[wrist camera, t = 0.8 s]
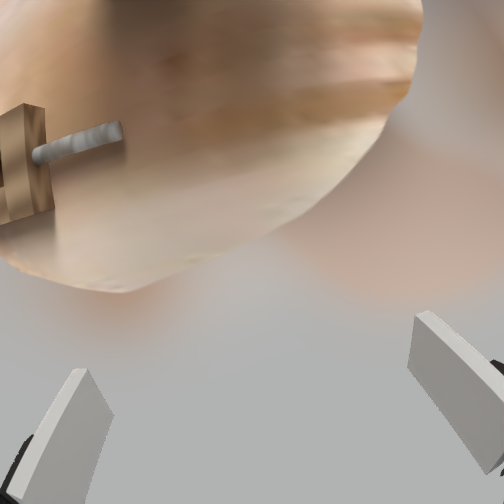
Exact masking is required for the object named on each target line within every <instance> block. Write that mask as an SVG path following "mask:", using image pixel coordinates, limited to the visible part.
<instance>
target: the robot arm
mask: <svg viewBox="0 0 504 504" xmlns="http://www.w3.org/2000/svg"><path fill="white" fill-rule="evenodd" d="M407 368H408V369H409V370H410V372H411V373H412V374H413V376H414V377H415V378H416V379H417V381H418V382H419V383H420V385H421V386H422V387H423V388H424V390H425V391H426V392H427V394H428V395H429V396H430V398H431V399H432V400H433V401H434V403H435V404H436V406H437V407H438V408H439V410H440V411H441V412H442V414H443V415H444V416H445V418H446V419H447V420H448V422H449V423H450V425H451V426H452V427H453V428H454V430H455V431H456V433H457V434H458V435H459V437H460V438H461V440H462V441H463V443H464V444H465V445H466V447H467V448H468V450H469V451H470V453H471V454H472V455H473V457H474V458H475V460H476V461H477V463H478V464H479V465H480V467H481V469H482V470H483V472H484V473H485V474H486V475H487V474H488V473H490V472H491V471H493V470H494V469H495V468H497V467H498V466H499V465H501V464H502V463H503V461H504V364H503V363H501V362H498V361H496V360H492V361H490V362H489V361H487V360H486V359H485V358H484V357H483V356H482V355H481V354H480V353H479V352H478V351H476V350H475V349H474V348H473V347H472V346H471V345H470V344H469V343H468V342H466V341H465V340H464V339H463V338H462V337H461V336H460V335H458V334H457V333H456V332H455V331H454V330H453V329H451V328H450V327H449V326H448V325H447V324H446V323H444V322H443V321H442V320H441V319H440V318H439V317H437V316H436V315H435V314H434V313H433V312H431V311H430V310H428V311H425V312H422V313H419V314H416V315H415V319H414V327H413V334H412V342H411V348H410V354H409V360H408V366H407ZM113 417H114V414H113V413H112V411H111V410H110V408H109V406H108V404H107V403H106V401H105V399H104V398H103V396H102V394H101V393H100V391H99V389H98V387H97V385H96V383H95V381H94V380H93V378H92V376H91V374H90V372H89V370H88V369H73V370H72V372H71V374H70V376H69V377H68V379H67V380H66V382H65V383H64V385H63V386H62V388H61V390H60V391H59V393H58V395H57V396H56V398H55V400H54V401H53V403H52V405H51V406H50V408H49V410H48V412H47V413H46V415H45V417H44V419H43V420H42V422H41V424H40V426H39V427H38V429H37V431H36V433H35V435H31V436H30V437H29V438H28V439H27V440H26V441H25V442H24V443H23V445H22V447H21V449H20V450H19V452H18V453H19V454H18V455H17V456H16V458H15V462H13V464H12V466H11V468H10V470H9V472H8V474H7V476H6V478H5V480H4V482H3V484H2V487H1V488H0V504H84V503H85V499H86V496H87V493H88V490H89V486H90V483H91V480H92V477H93V474H94V471H95V467H96V465H97V461H98V459H99V455H100V453H101V450H102V447H103V444H104V441H105V439H106V436H107V433H108V430H109V427H110V425H111V422H112V419H113ZM503 475H504V469H503V470H502V472H501V475H500V476H503Z"/></svg>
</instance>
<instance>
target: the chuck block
mask: <svg viewBox="0 0 504 504" xmlns="http://www.w3.org/2000/svg"><path fill="white" fill-rule="evenodd" d="M122 138H123V130H122V126H121V123H120V121H119V120H116V121H112V122H109V123H105V124H102V125H99V126H95V127H92V128H89V129H86V130H83V131H80V132H77V133H74V134H71V135H68V136H65V137H63V138H60V139H57V140H55V141H52V142H49V143H47V144H46V134H45V114H44V108H41V107H37V106H33V105H29V104H25V103H23V104H21V105H19V106H17V107H16V108H14V109H12V110H10V111H8V112H6V113H5V114H3V115H1V116H0V225H2V224H5V223H8V222H12V221H15V220H18V219H21V218H24V217H28V216H31V215H34V214H37V213H41V212H44V211H47V210H50V209H54V208H55V206H54V200H53V194H52V188H51V181H50V174H49V166H48V163H49V162H51V161H54V160H57V159H60V158H63V157H66V156H69V155H72V154H75V153H78V152H81V151H85V150H88V149H91V148H95V147H98V146H101V145H105V144H109V143H112V142H116V141H120V140H122ZM1 160H2V162H1ZM2 171H3V172H2ZM3 180H4V181H3Z"/></svg>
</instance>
